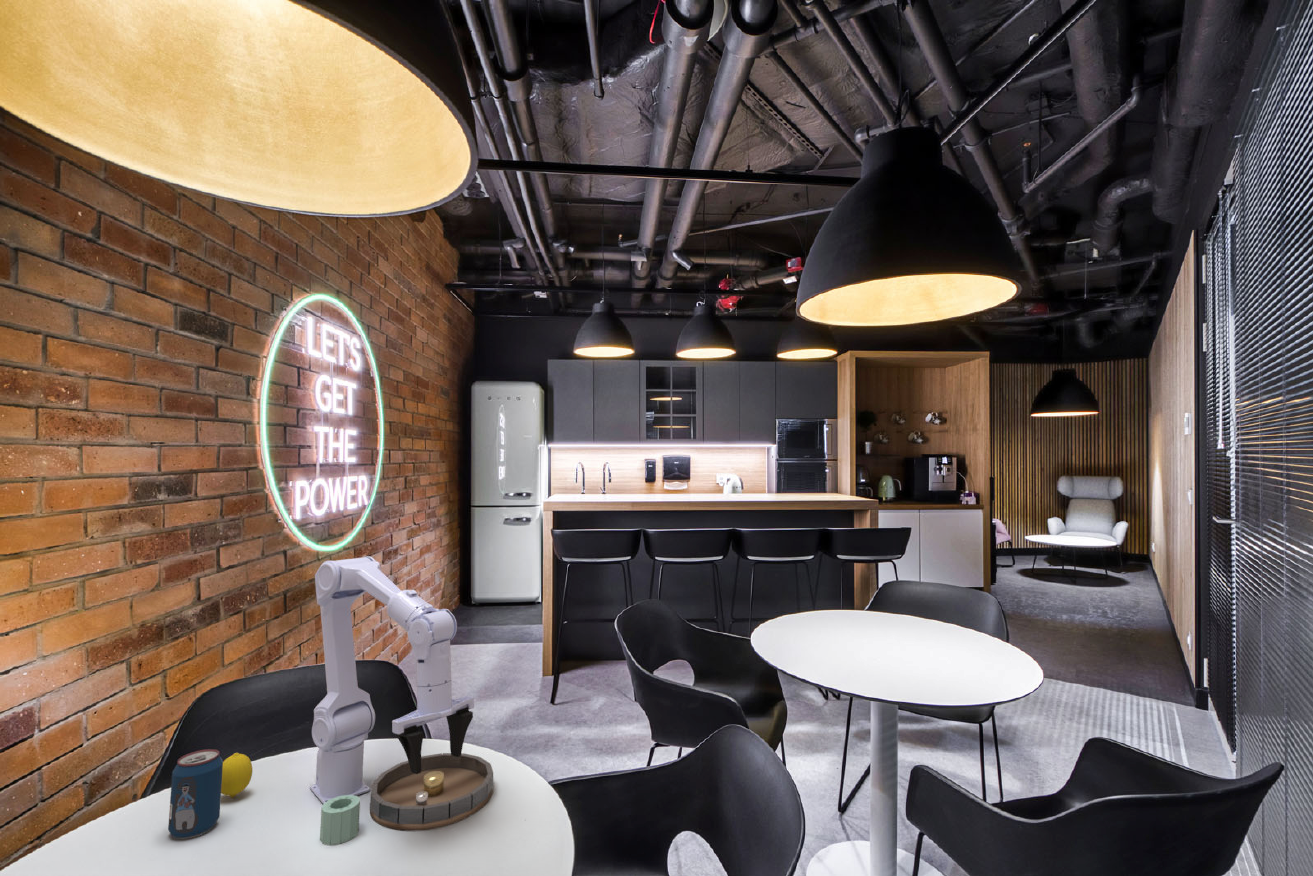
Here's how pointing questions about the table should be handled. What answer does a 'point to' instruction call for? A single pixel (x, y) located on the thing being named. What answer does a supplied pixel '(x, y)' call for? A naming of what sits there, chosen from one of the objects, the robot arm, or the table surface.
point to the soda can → (195, 794)
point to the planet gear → (339, 819)
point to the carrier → (431, 792)
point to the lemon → (236, 774)
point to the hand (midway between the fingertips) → (436, 763)
